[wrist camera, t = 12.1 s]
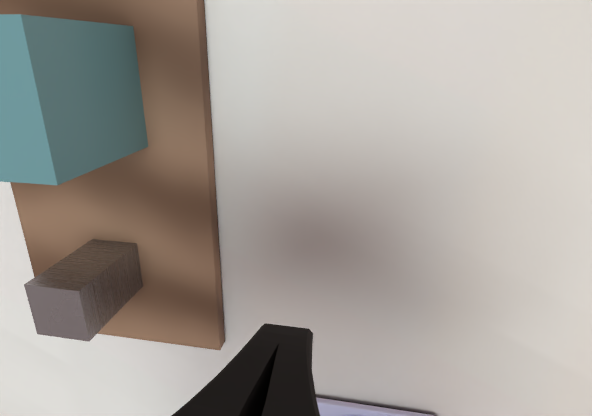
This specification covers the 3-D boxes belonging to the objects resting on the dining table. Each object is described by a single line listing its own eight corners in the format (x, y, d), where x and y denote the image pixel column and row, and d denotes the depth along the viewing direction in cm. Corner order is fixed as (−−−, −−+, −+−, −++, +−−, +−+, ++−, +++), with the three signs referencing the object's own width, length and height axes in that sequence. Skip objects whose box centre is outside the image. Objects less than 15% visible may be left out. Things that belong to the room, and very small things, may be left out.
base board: (224, 340, 24) (220, 350, 23) (56, 318, 25) (47, 326, 25) (201, -33, 17) (193, -37, 16) (-28, -29, 18) (-45, -33, 18)
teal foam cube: (148, 146, 19) (57, 185, 14) (50, 141, 20) (-73, 176, 14) (132, 25, 17) (20, 14, 12) (26, 26, 18) (-127, 15, 13)
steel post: (143, 286, 22) (89, 341, 18) (100, 281, 23) (37, 334, 18) (137, 243, 21) (78, 291, 17) (92, 239, 22) (24, 284, 17)
